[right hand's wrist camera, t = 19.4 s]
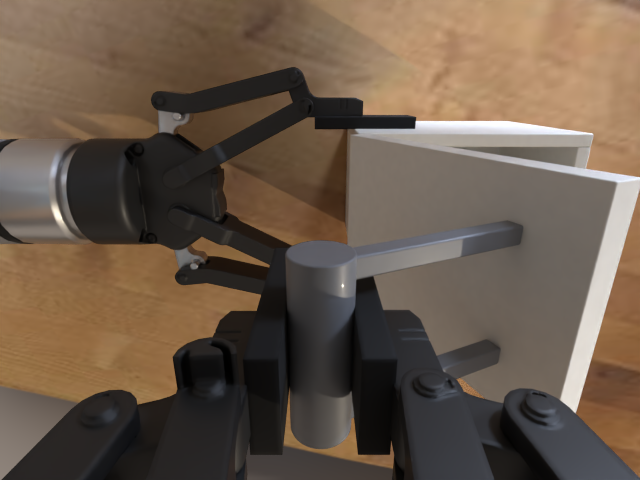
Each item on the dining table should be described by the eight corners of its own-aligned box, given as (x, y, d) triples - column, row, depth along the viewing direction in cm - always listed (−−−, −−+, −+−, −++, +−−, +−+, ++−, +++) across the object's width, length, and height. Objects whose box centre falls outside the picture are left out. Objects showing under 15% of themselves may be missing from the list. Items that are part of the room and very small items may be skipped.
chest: (508, 121, 33) (594, 133, 23) (492, 224, 36) (560, 277, 26) (347, 121, 33) (358, 133, 23) (345, 223, 36) (353, 276, 26)
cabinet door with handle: (643, 178, 11) (340, 221, 7) (569, 438, 14) (333, 563, 10) (368, 133, 22) (202, 141, 19) (362, 279, 26) (218, 310, 22)
